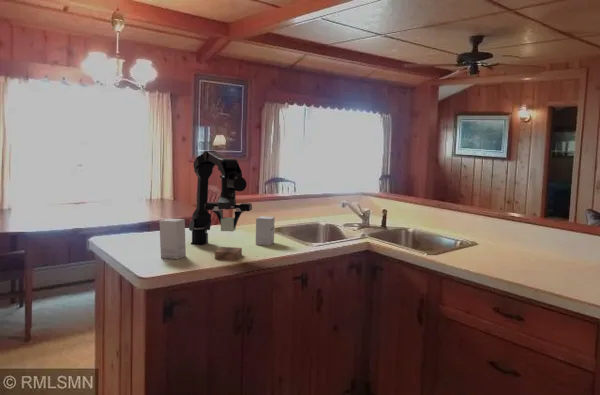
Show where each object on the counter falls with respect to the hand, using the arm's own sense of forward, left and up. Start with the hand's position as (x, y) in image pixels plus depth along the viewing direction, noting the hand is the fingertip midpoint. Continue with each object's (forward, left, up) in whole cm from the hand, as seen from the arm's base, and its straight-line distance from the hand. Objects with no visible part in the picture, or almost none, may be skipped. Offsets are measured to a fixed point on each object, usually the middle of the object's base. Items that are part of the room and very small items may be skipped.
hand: (228, 227), depth 191 cm
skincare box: (-22, -5, -13) cm, 26 cm away
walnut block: (0, 0, -13) cm, 13 cm away
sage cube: (0, 0, -1) cm, 1 cm away
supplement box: (+10, +29, -13) cm, 33 cm away
